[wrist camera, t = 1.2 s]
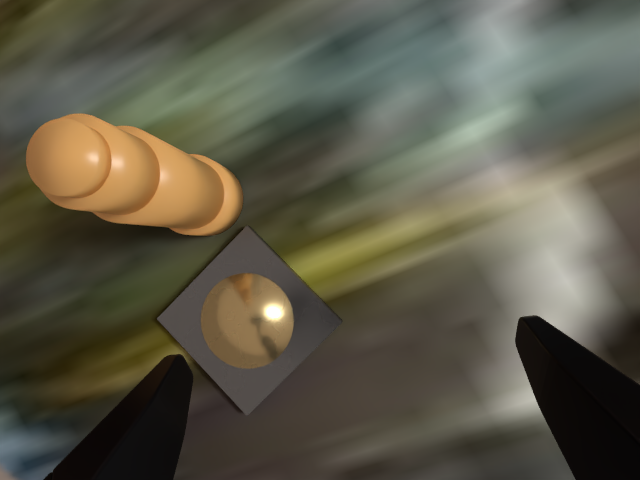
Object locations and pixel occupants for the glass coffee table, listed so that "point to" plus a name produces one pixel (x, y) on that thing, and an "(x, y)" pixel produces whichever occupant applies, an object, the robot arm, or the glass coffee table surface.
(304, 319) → the plate
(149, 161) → the tan bulged column
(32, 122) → the glass coffee table surface
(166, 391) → the robot arm
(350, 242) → the glass coffee table surface
